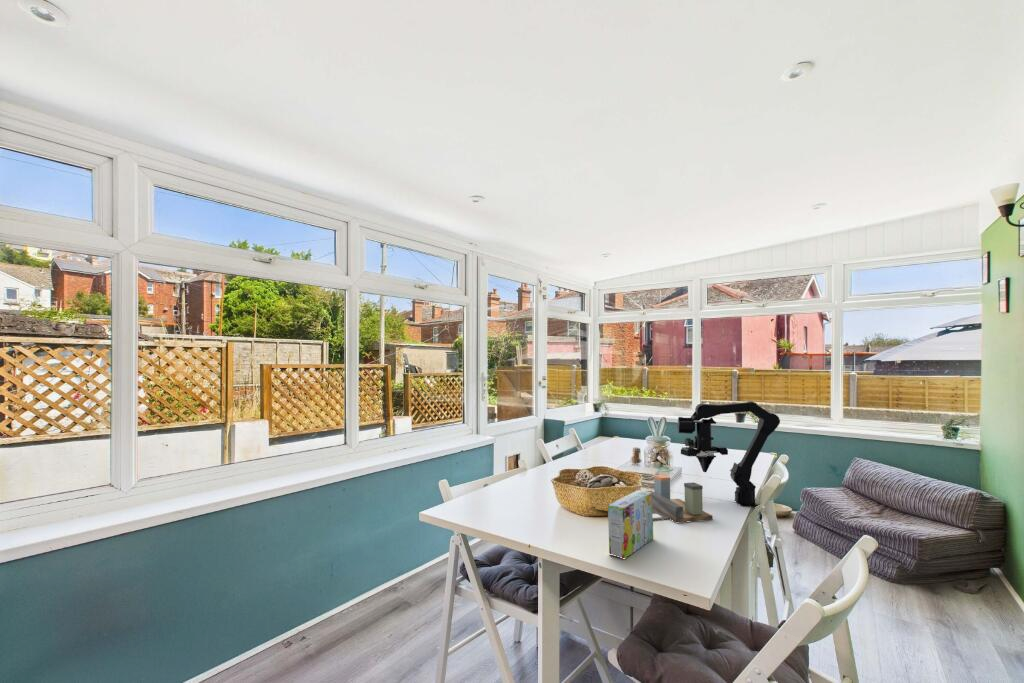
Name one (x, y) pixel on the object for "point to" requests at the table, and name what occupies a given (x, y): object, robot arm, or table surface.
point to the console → (675, 509)
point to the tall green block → (693, 498)
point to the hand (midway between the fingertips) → (704, 472)
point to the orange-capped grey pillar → (662, 485)
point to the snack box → (630, 523)
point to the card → (658, 515)
